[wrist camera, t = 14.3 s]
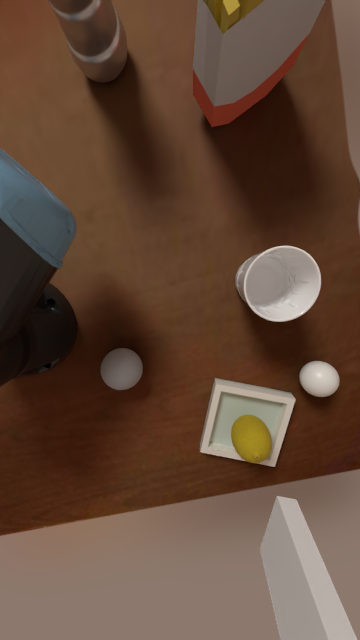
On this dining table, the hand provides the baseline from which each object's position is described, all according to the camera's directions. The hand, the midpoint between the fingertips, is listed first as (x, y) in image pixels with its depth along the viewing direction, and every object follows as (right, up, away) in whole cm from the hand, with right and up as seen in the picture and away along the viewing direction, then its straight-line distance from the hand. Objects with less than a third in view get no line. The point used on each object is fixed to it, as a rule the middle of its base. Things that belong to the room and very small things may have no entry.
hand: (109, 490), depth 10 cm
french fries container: (+10, +35, +21) cm, 42 cm away
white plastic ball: (+23, -1, +28) cm, 36 cm away
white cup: (+14, +13, +26) cm, 32 cm away
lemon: (+13, -9, +30) cm, 34 cm away
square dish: (+13, -9, +31) cm, 34 cm away
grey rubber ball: (-5, 0, +30) cm, 30 cm away
